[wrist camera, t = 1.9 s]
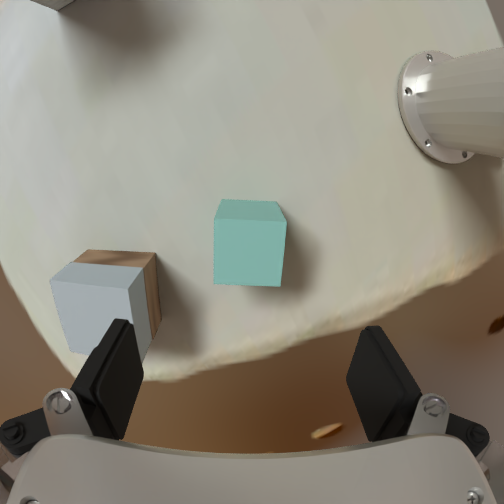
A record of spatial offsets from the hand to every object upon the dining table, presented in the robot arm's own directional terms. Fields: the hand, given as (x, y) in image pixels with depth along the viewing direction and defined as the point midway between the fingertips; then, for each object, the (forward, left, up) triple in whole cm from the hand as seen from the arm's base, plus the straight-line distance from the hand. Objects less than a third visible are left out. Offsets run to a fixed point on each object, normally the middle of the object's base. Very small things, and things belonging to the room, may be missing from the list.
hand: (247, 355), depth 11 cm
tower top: (+13, +7, -14) cm, 20 cm away
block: (0, 0, -18) cm, 18 cm away
